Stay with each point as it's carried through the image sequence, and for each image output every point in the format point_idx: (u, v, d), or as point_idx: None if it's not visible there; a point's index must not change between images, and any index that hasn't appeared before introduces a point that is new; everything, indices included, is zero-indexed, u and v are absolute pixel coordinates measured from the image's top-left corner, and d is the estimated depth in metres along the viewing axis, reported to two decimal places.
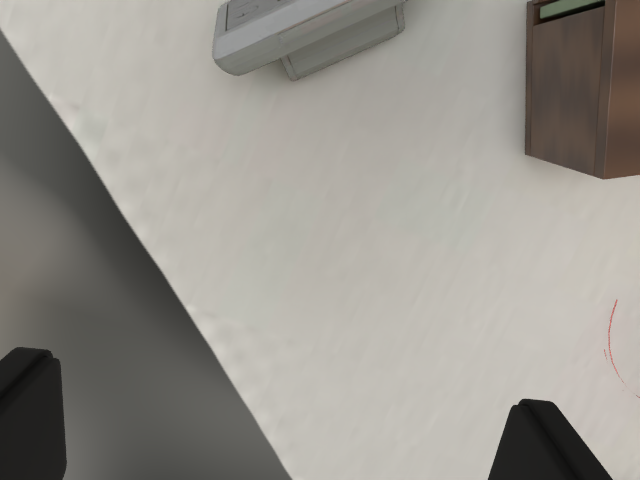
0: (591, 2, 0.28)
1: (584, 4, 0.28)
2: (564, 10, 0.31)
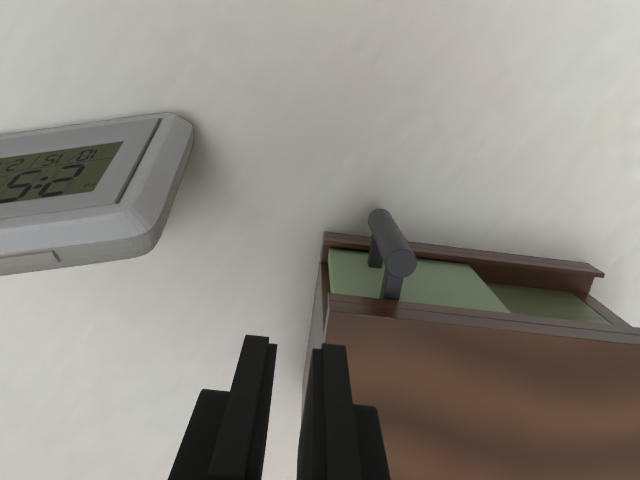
0: None
1: None
2: None
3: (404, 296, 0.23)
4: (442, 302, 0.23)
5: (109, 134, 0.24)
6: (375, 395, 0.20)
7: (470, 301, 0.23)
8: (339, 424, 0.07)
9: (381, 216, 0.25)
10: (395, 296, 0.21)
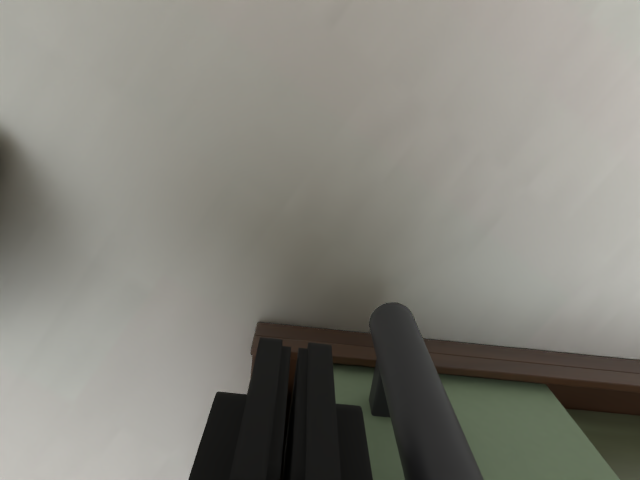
0: None
1: None
2: None
3: None
4: None
5: None
6: None
7: None
8: (321, 424, 0.07)
9: (396, 331, 0.12)
10: None
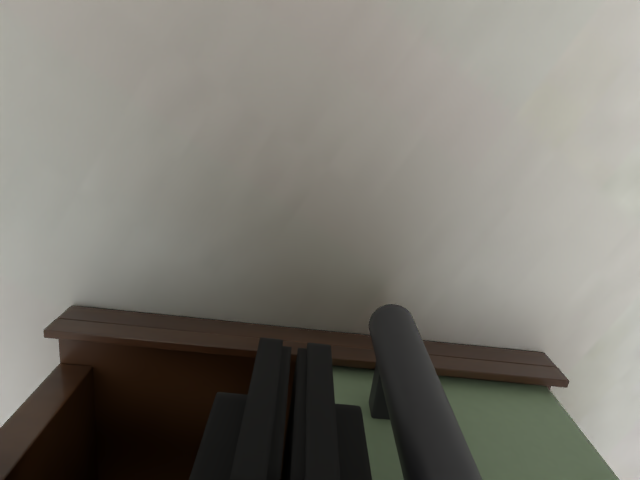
0: None
1: None
2: None
3: None
4: None
5: None
6: None
7: None
8: (320, 424, 0.07)
9: (395, 333, 0.12)
10: None
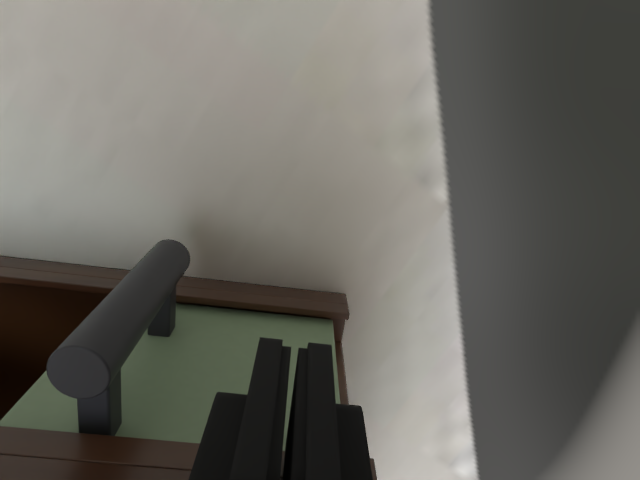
0: None
1: None
2: None
3: (155, 405, 0.13)
4: None
5: None
6: None
7: None
8: (321, 424, 0.07)
9: (148, 256, 0.15)
10: (101, 423, 0.11)
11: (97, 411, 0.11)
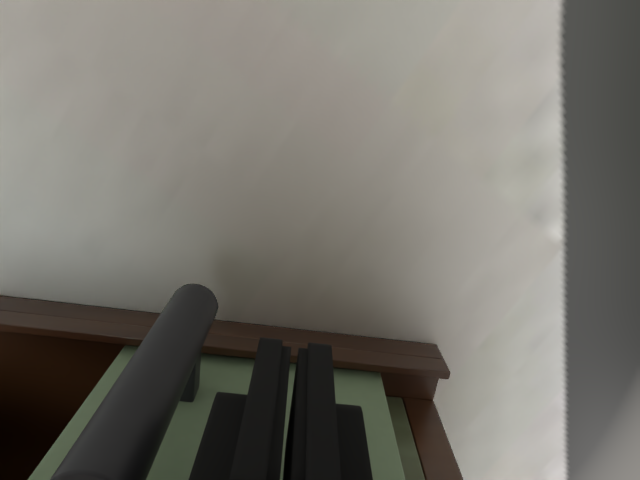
0: None
1: None
2: None
3: None
4: None
5: None
6: None
7: None
8: (321, 424, 0.07)
9: (170, 310, 0.12)
10: None
11: None
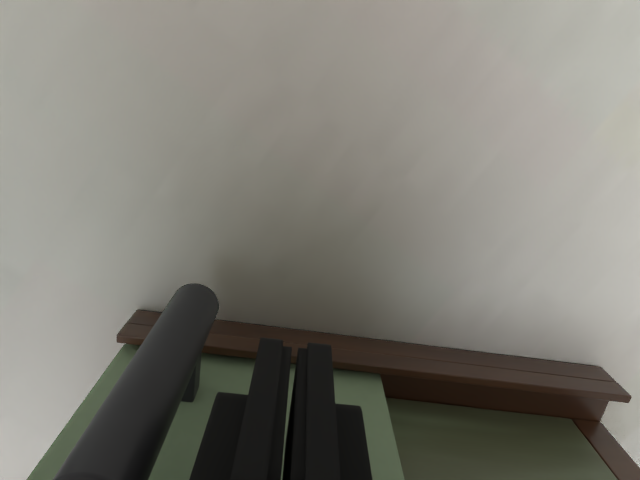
0: None
1: None
2: None
3: None
4: None
5: None
6: None
7: None
8: (320, 424, 0.07)
9: (171, 310, 0.12)
10: None
11: None
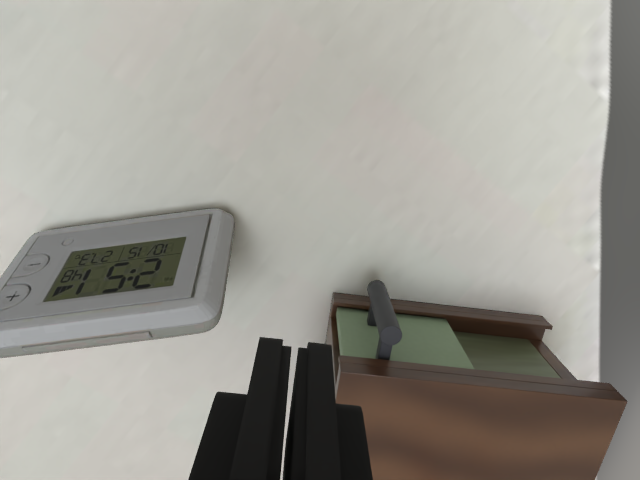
0: None
1: None
2: (338, 337, 0.33)
3: (394, 353, 0.31)
4: (422, 357, 0.31)
5: (174, 229, 0.32)
6: (373, 429, 0.28)
7: (443, 356, 0.31)
8: (321, 424, 0.07)
9: (377, 289, 0.33)
10: (387, 356, 0.29)
11: (387, 351, 0.29)
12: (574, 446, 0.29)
